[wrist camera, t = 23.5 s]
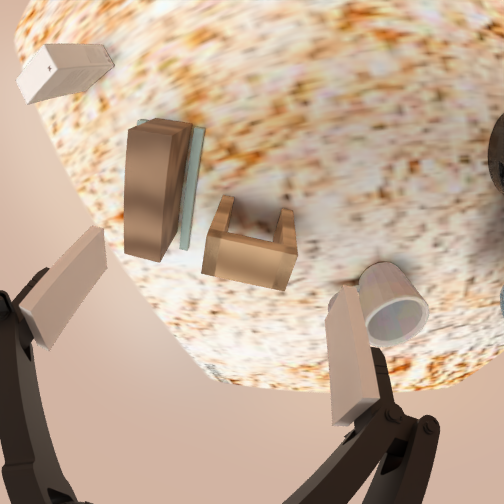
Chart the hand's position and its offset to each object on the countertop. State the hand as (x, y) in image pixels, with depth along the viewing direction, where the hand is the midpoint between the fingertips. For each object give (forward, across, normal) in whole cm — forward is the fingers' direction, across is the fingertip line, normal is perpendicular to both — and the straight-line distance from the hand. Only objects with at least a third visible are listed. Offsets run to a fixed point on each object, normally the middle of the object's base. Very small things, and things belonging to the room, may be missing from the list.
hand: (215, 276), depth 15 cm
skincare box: (+24, -24, +10) cm, 35 cm away
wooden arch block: (+24, +2, -9) cm, 26 cm away
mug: (+25, +21, -15) cm, 36 cm away
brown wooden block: (+24, -11, -5) cm, 27 cm away
